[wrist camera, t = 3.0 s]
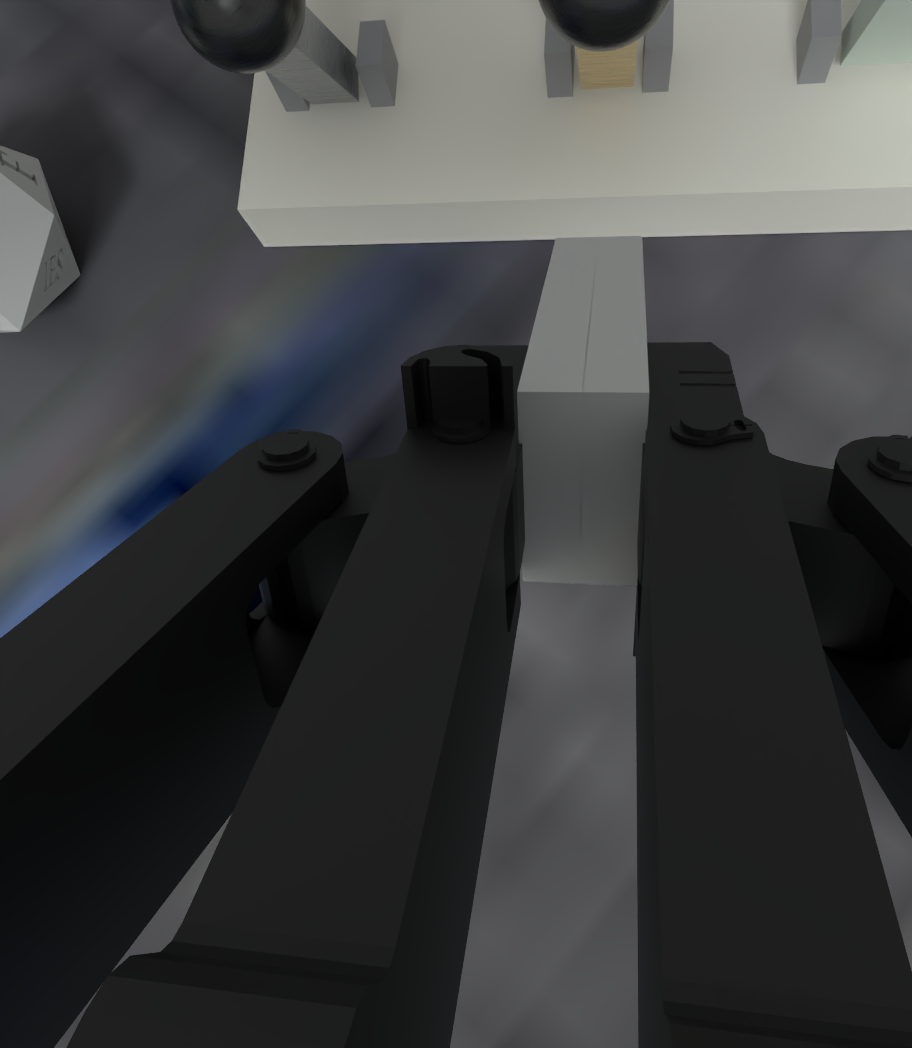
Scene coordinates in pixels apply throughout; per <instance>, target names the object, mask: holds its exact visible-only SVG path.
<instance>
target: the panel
mask: <svg viewBox="0 0 912 1048" xmlns="http://www.w3.org/2000/svg"><path fill="white" fill-rule="evenodd" d="M861 1H862V0H670V2H669V4H668V7H667V9H666V10H665V12H664V13H663V15H662V17H661V18H660V19H659V21H658V22H657V23H656V24H655V26H654V27H652V28H651V29H650V30H649V31H648V32H647V33H646V34H645V35H644V36H643V37H641V38H640V39H639V40H638V41H637V53H636V64H635V75H634V86H633V87H617V88H599V89H581V83H580V76H579V68H578V61H577V54H576V46H574V45H572V44H570V43H569V42H568V41H566V40H565V39H563V38H562V37H561V36H560V35H559V34H558V33H556V31H555V30H554V29H553V28H552V27H551V25H550V24H549V22H548V21H547V19H546V17H545V15H544V13H543V11H542V9H541V6H540V3H539V0H306V6H307V7H308V8H309V9H310V10H311V11H312V12H313V13H314V15H315V16H316V17H317V18H318V19H319V20H320V21H321V22H322V23H323V24H324V25H325V26H326V27H327V28H328V29H329V30H330V31H331V32H332V33H333V34H334V35H335V36H336V37H337V38H338V39H339V40H340V41H341V42H342V43H343V44H344V45H345V46H346V47H347V48H348V49H349V50H350V51H351V52H352V53H353V54H354V56H355V57H356V68H357V71H358V81H359V102H345V103H327V104H311V103H310V102H308V101H307V100H306V99H304V98H303V97H302V96H300V95H299V94H297V93H296V92H295V91H293V90H292V89H290V88H289V87H288V86H286V85H285V84H283V83H282V82H281V81H279V80H278V79H276V78H275V77H274V76H272V75H271V74H270V73H268V72H267V71H262V72H258V73H255V74H254V82H253V90H252V98H251V106H250V114H249V122H248V130H247V138H246V146H245V154H244V162H243V169H242V177H241V185H240V193H239V201H238V209H237V210H238V211H239V213H240V214H241V215H242V217H243V218H244V219H245V221H246V222H247V224H248V225H249V226H250V228H251V229H252V231H253V232H254V233H255V235H256V236H257V237H258V239H259V240H260V242H261V243H262V244H263V246H264V247H282V246H320V245H359V244H397V243H435V242H473V241H512V240H550V239H556V238H574V237H615V236H642V237H665V236H703V235H741V234H780V233H818V232H856V231H894V230H912V62H909V63H891V64H873V65H856V66H840V54H841V38H842V31H843V29H844V28H845V26H846V25H847V23H848V21H849V20H850V18H851V17H852V15H853V13H854V12H855V10H856V9H857V7H858V5H859V4H860V2H861Z"/></svg>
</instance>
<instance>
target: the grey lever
mask: <svg viewBox="0 0 912 1048" xmlns="http://www.w3.org/2000/svg"><path fill="white" fill-rule="evenodd" d="M171 3H172V8H173V12H174V15H175V17H176V20H177V23H178V25H179V27H180V29H181V31H182V33H183V35H184V36H185V38H186V39H187V41H188V42H189V43H190V45H191V46H192V47H193V48H194V49H195V50H196V51H197V52H198V53H199V54H200V55H201V56H202V57H203V58H205V59H206V60H207V61H209V62H210V63H212V64H214V65H216V66H218V67H220V68H222V69H224V70H227V71H230V72H235V73H242V74H251V73H258V72H262V71H267V72H268V73H270V74H271V75H272V76H274V77H275V78H276V79H278V80H279V81H281V82H282V83H283V84H285V85H286V86H288V87H289V88H290V89H292V90H293V91H295V92H296V93H297V94H299V95H300V96H302V97H303V98H304V99H306V100H307V101H308V102H310V103H311V104H327V103H345V102H359V81H358V71H357V68H356V57H355V56H354V54H353V53H352V52H351V51H350V50H349V49H348V48H347V47H346V46H345V45H344V44H343V43H342V42H341V41H340V40H339V39H338V38H337V37H336V36H335V35H334V34H333V33H332V32H331V31H330V30H329V29H328V28H327V27H326V26H325V25H324V24H323V23H322V22H321V21H320V20H319V19H318V18H317V17H316V16H315V15H314V13H313V12H312V11H311V10H310V9H309V8H308V7H307V6H306V0H171Z"/></svg>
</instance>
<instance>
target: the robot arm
mask: <svg viewBox="0 0 912 1048" xmlns="http://www.w3.org/2000/svg"><path fill="white" fill-rule="evenodd" d="M401 372H402V382H403V391H404V400H405V409H406V419H407V428H408V429H407V432H406V434H405V436H404V438H403V440H402V443H401V445H400V447H399V449H398V451H397V453H395V454H392V455H389V456H384V457H379V458H375V459H369V460H362V461H355V462H348V463H344V458H343V452H342V446H341V443H340V442H339V441H337V440H336V439H335V438H334V437H332V436H330V435H326V434H323V433H319V432H310V431H301V430H288V432H286V431H281V432H276V433H273V434H272V435H271V436H268V437H265V438H262V439H259V440H256V441H254V442H253V443H251V444H249V445H247V446H246V447H244V448H242V449H241V450H239V451H238V452H237V453H236V454H234V455H233V456H232V457H231V458H229V459H228V460H227V461H225V462H224V463H223V464H222V465H220V466H219V467H218V468H217V469H215V470H214V471H213V472H211V473H210V474H209V475H208V476H206V477H205V478H204V479H203V480H201V481H200V482H199V483H197V484H196V485H195V486H194V487H192V488H191V489H190V490H189V491H187V492H186V493H185V494H183V495H182V496H181V497H180V498H178V499H177V500H176V501H175V502H173V503H172V504H171V505H169V506H168V507H167V508H166V509H164V510H163V511H162V512H161V513H159V514H158V515H157V516H155V517H154V518H153V519H152V520H150V521H149V522H148V523H147V524H145V525H144V526H143V527H141V528H140V529H139V530H138V531H136V532H135V533H134V534H133V535H131V536H130V537H129V538H127V539H126V540H125V541H124V542H122V543H121V544H120V545H119V546H117V547H116V548H115V549H113V550H112V551H111V552H110V553H108V554H107V555H106V556H105V557H103V558H102V559H101V560H99V561H98V562H97V563H96V564H94V565H93V566H92V567H91V568H89V569H88V570H87V571H85V572H84V573H83V574H82V575H80V576H79V577H78V578H77V579H75V580H74V581H73V582H71V583H70V584H69V585H68V586H66V587H65V588H64V589H63V590H61V591H60V592H59V593H57V594H56V595H55V596H54V597H52V598H51V599H50V600H49V601H47V602H46V603H45V604H43V605H42V606H41V607H40V608H38V609H37V610H36V611H35V612H33V613H32V614H31V615H29V616H28V617H27V618H26V619H24V620H23V621H22V622H21V623H19V624H18V625H17V626H15V627H14V628H13V629H12V630H10V631H9V632H8V633H7V634H5V635H4V636H3V637H1V638H0V1048H54V1047H55V1045H56V1044H57V1043H58V1041H59V1040H60V1039H61V1037H62V1036H63V1035H64V1034H65V1032H66V1031H67V1030H68V1028H69V1027H70V1026H71V1024H72V1023H73V1022H74V1020H75V1019H76V1018H77V1016H78V1015H79V1014H80V1012H81V1011H82V1010H83V1008H84V1007H85V1006H86V1005H87V1003H88V1002H89V1001H90V999H91V998H92V997H93V995H94V994H95V993H96V991H97V990H98V989H99V987H100V986H101V985H102V986H101V987H100V989H99V990H98V992H97V994H96V995H95V997H94V998H93V1000H92V1002H91V1003H90V1005H89V1006H88V1008H87V1009H86V1011H85V1013H84V1015H83V1016H82V1018H81V1020H80V1022H79V1024H78V1026H77V1028H76V1030H75V1032H74V1034H73V1036H72V1038H71V1040H70V1042H69V1044H68V1046H67V1048H450V1042H451V1036H452V1030H453V1024H454V1018H455V1011H456V1005H457V999H458V993H459V986H460V980H461V974H462V968H463V961H464V955H465V949H466V943H467V936H468V930H469V924H470V918H471V912H472V905H473V899H474V893H475V887H476V880H477V874H478V868H479V862H480V855H481V849H482V843H483V837H484V831H485V824H486V818H487V812H488V806H489V799H490V793H491V787H492V781H493V774H494V768H495V762H496V756H497V749H498V743H499V737H500V731H501V725H502V718H503V712H504V706H505V700H506V693H507V687H508V681H509V675H510V668H511V662H512V656H513V650H514V643H515V637H516V631H517V625H518V619H519V612H520V606H521V596H520V568H521V562H522V564H523V581H530V582H552V583H575V584H597V585H620V586H637V596H636V613H635V631H634V649H633V656H636V731H637V887H638V1043H639V1048H912V971H911V967H910V964H909V960H908V957H907V953H906V949H905V946H904V942H903V938H902V935H901V931H900V927H899V924H898V920H897V916H896V913H895V909H894V906H893V902H892V898H891V895H890V891H889V887H888V884H887V880H886V876H885V873H884V869H883V866H882V862H881V858H880V855H879V851H878V847H877V844H876V840H875V836H874V833H873V829H872V825H871V822H870V818H869V815H868V811H867V807H866V804H865V800H864V796H863V793H862V789H861V785H860V782H859V778H858V774H857V771H856V767H855V764H854V760H853V756H852V753H851V749H850V745H849V742H848V738H847V734H846V731H847V732H848V734H849V736H850V737H851V739H852V741H853V742H854V744H855V746H856V747H857V749H858V750H859V752H860V754H861V755H862V757H863V759H864V760H865V762H866V763H867V765H868V767H869V768H870V770H871V772H872V773H873V775H874V777H875V778H876V780H877V781H878V783H879V785H880V786H881V788H882V790H883V791H884V793H885V794H886V796H887V798H888V799H889V801H890V803H891V804H892V806H893V808H894V809H895V811H896V812H897V814H898V816H899V817H900V819H901V821H902V822H903V824H904V825H905V827H906V829H907V830H908V832H909V834H910V835H911V837H912V437H911V439H910V438H908V436H902V435H892V436H890V437H869V438H864V439H859V440H855V441H852V442H850V443H849V444H847V445H845V446H843V447H842V448H840V449H839V452H838V454H837V457H836V460H835V465H834V469H828V468H823V467H817V466H811V465H806V464H802V463H798V462H793V461H789V460H786V459H783V458H781V457H778V456H775V455H773V454H771V453H769V450H768V447H767V443H766V439H765V436H764V433H763V432H762V430H761V429H760V427H759V426H758V425H757V423H755V422H753V421H751V420H750V419H748V418H746V417H744V415H743V411H742V407H741V403H740V399H739V395H738V391H737V387H736V382H735V378H734V374H733V370H732V366H731V362H730V358H729V355H727V354H726V353H725V352H723V351H722V350H721V349H719V348H718V347H717V346H715V345H714V344H713V343H711V342H682V343H647V332H646V311H645V290H644V269H643V248H642V236H615V237H574V238H556V240H555V244H554V248H553V252H552V256H551V260H550V264H549V267H548V271H547V275H546V279H545V283H544V287H543V291H542V295H541V299H540V303H539V307H538V311H537V315H536V319H535V323H534V327H533V331H532V335H531V339H530V343H529V346H472V345H458V346H445V347H440V348H435V349H431V350H427V351H423V352H421V353H419V354H417V355H415V356H412V357H410V358H409V359H408V360H407V361H406V362H405V363H404V364H402V365H401ZM258 585H259V587H260V591H261V595H262V599H263V601H262V603H261V604H260V605H259V606H258V607H257V608H256V609H255V610H254V611H253V612H251V613H250V614H249V613H248V611H247V610H248V606H249V602H250V599H251V596H252V595H253V593H254V592H255V590H256V589H257V587H258ZM845 729H846V731H845ZM232 812H233V813H232ZM231 814H232V815H231ZM230 815H231V817H230V820H229V822H228V824H227V826H226V828H225V830H224V833H223V835H222V837H221V839H220V841H219V844H218V846H217V848H216V850H215V852H214V855H213V857H212V859H211V861H210V863H209V866H208V868H207V870H206V872H205V874H204V876H203V879H202V881H201V883H200V885H199V887H198V890H197V892H196V894H195V896H194V898H193V901H192V903H191V905H190V907H189V909H188V912H187V914H186V916H185V918H184V920H183V923H182V924H181V926H180V928H179V929H178V931H177V933H176V935H175V936H174V938H173V940H172V941H171V942H170V943H169V944H168V945H167V946H166V947H165V948H164V949H163V950H162V951H161V952H157V953H149V954H141V955H133V956H130V957H128V958H127V959H126V960H125V961H124V962H123V963H122V964H121V965H119V966H118V967H117V968H116V969H115V970H114V971H113V972H112V970H113V969H114V968H115V966H116V965H117V964H118V962H119V961H120V960H121V958H122V957H123V956H124V954H125V953H126V952H127V951H128V949H129V948H130V947H131V945H132V944H133V943H134V941H135V940H136V939H137V937H138V936H139V935H140V933H141V932H142V931H143V929H144V928H145V927H146V925H147V924H148V923H149V922H150V920H151V919H152V918H153V916H154V915H155V914H156V912H157V911H158V910H159V908H160V907H161V906H162V904H163V903H164V902H165V900H166V899H167V898H168V896H169V895H170V894H171V893H172V891H173V890H174V889H175V887H176V886H177V885H178V883H179V882H180V881H181V879H182V878H183V877H184V875H185V874H186V873H187V871H188V870H189V869H190V868H191V866H192V865H193V864H194V862H195V861H196V860H197V858H198V857H199V856H200V854H201V853H202V852H203V850H204V849H205V848H206V846H207V845H208V844H209V842H210V841H211V840H212V839H213V837H214V836H215V835H216V833H217V832H218V831H219V829H220V828H221V827H222V825H223V824H224V823H225V821H226V820H227V819H228V817H229V816H230ZM103 982H104V983H103ZM102 983H103V984H102Z"/></svg>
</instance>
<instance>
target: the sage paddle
mask: <svg viewBox="0 0 912 1048" xmlns="http://www.w3.org/2000/svg"><path fill="white" fill-rule="evenodd" d="M909 62H912V0H862V1H861V2H860V4H859V5H858V7H857V9H856V10H855V12H854V13H853V15H852V17H851V18H850V20H849V21H848V23H847V25H846V26H845V28H844V29H843V31H842V38H841V54H840V66H856V65H873V64H891V63H909Z"/></svg>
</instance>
